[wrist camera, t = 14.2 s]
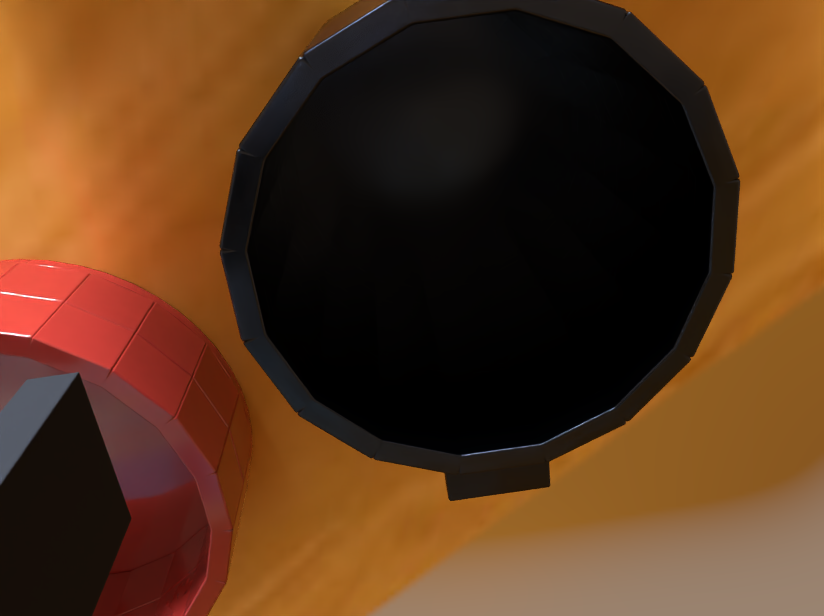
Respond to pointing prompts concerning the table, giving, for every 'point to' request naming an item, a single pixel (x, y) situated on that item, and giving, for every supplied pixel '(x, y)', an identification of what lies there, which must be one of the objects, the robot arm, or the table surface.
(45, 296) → the casserole
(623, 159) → the black cylindrical cup
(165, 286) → the table surface
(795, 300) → the table surface
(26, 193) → the table surface
